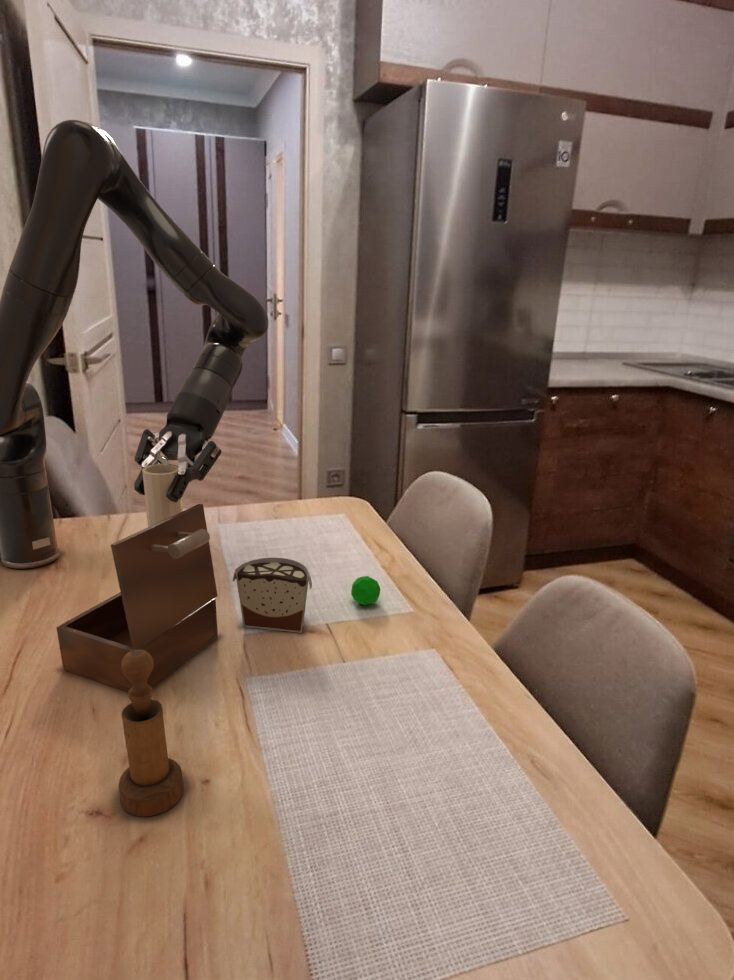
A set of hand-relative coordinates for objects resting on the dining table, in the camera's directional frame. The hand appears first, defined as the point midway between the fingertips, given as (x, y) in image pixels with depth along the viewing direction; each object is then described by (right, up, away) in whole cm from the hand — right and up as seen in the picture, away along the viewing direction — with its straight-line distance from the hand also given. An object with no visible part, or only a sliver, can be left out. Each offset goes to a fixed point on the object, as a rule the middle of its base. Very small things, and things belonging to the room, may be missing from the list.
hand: (155, 495), depth 101 cm
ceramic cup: (0, -5, +4) cm, 7 cm away
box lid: (+6, -11, -11) cm, 17 cm away
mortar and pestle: (+10, -34, -29) cm, 46 cm away
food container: (+17, -20, +7) cm, 27 cm away
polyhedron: (+31, -18, +14) cm, 39 cm away
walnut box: (0, -23, -4) cm, 23 cm away
